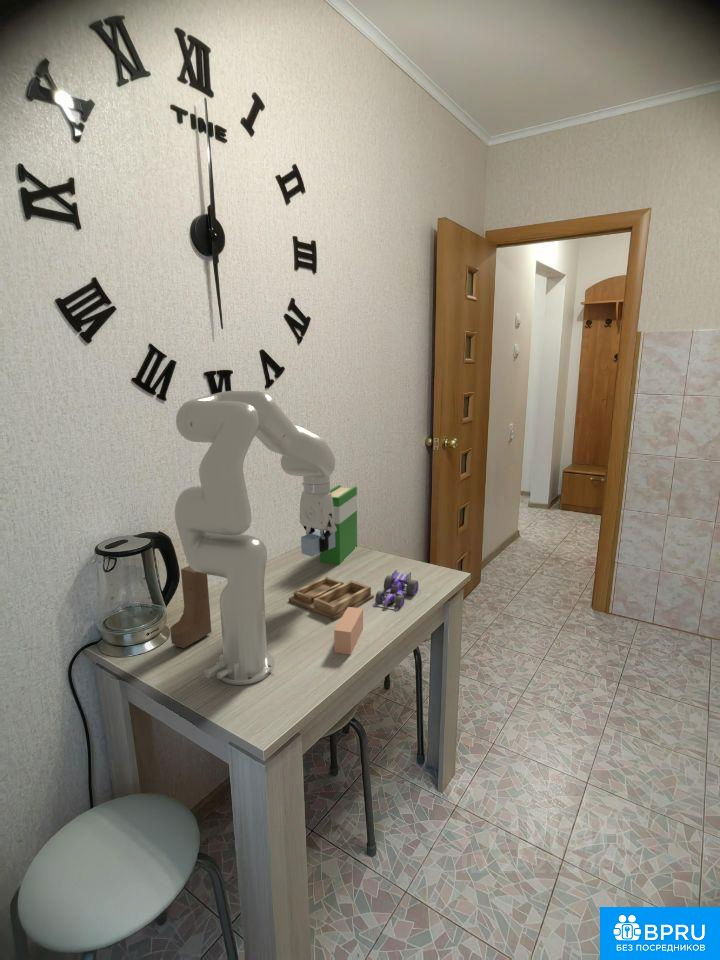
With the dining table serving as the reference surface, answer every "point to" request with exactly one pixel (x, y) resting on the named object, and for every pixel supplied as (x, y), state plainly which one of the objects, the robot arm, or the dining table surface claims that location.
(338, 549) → the hardback book
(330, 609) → the jig
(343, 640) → the salmon orange rectangular block
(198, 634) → the wooden block
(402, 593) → the toy race car
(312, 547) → the light blue block
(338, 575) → the dining table surface
